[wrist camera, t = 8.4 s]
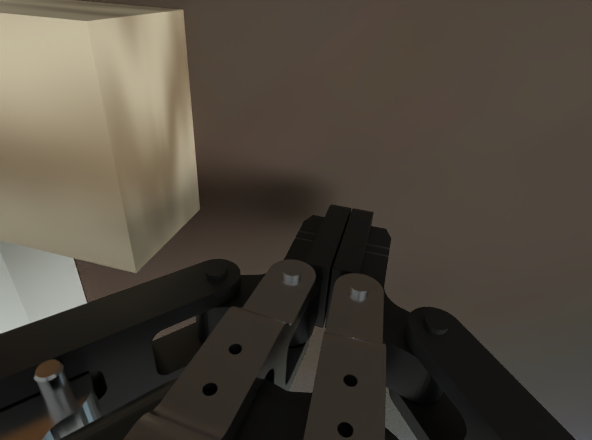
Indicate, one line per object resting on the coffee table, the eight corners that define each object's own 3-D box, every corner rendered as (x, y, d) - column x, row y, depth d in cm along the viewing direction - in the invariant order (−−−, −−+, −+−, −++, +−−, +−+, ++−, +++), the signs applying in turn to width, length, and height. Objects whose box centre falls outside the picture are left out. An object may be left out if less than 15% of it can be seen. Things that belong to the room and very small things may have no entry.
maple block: (1, -7, 16) (-150, -2, 12) (186, 9, 14) (86, 21, 10) (54, 178, 20) (-44, 230, 16) (202, 207, 18) (136, 273, 14)
